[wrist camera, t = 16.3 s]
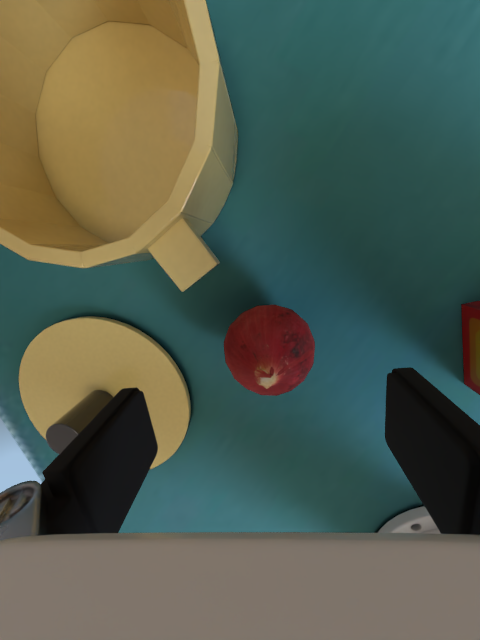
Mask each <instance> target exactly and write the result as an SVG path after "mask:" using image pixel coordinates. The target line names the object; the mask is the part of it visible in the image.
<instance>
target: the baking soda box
mask: <svg viewBox="0 0 480 640" xmlns="http://www.w3.org/2000/svg"><path fill="white" fill-rule="evenodd" d="M461 306H462V335H463V364H464V384H465V385H467V386H468V387H469V388H471V389H472V390H474V391H475V392H476V393H478V394H479V395H480V301H475V302H470V303H465V304H461Z"/></svg>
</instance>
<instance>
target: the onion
mask: <svg viewBox="0 0 480 640" xmlns="http://www.w3.org/2000/svg"><path fill="white" fill-rule="evenodd" d="M314 348H315V342H314V338H313V336H312V334H311V331H310V329H309V326H308V324H307V323H306V322H305V321H304V320H303V319H302V318H301V317H300V316H299V315H297V314H296V313H295V312H294V311H293V310H291V309H288V308H284V307H281V306H277V305H262V306H256V307H254V308H252V309H249V310H247V311H245V312H243V313H241V314H240V315H239V317H238V318H237V319H236V320H235V321H234V322H233V323H232V324H231V325H230V326H229V329H228V332H227V334H226V337H225V340H224V352H225V361H226V364H227V365H228V367H229V369H230V371H231V373H232V375H233V377H234V379H236V380H237V381H238V382H239V383H240V384H241V385H243V386H244V387H245V388H246V389H248V390H251V391H253V392H255V393H258V394H260V395H275V396H277V395H280V394H283V393H286V392H289V391H291V390H292V389H294V388H295V387H296V386H298V385H299V384H300V383H301V382H303V381H304V379H305V378H306V376H307V374H308V372H309V371H310V369H311V367H312V365H313V361H314Z"/></svg>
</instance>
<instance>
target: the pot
mask: <svg viewBox="0 0 480 640" xmlns="http://www.w3.org/2000/svg"><path fill="white" fill-rule="evenodd" d="M237 143H238V130H237V125H236V121H235V117H234V112H233V108H232V104H231V100H230V95H229V91H228V87H227V82H226V78H225V74H224V70H223V66H222V62H221V58H220V54H219V50H218V46H217V42H216V38H215V34H214V30H213V26H212V22H211V18H210V14H209V10H208V6H207V2H206V0H0V244H2V245H3V246H5V247H7V248H9V249H10V250H12V251H14V252H16V253H17V254H19V255H21V256H23V257H24V258H26V259H28V260H31V261H38V262H44V263H51V264H57V265H64V266H71V267H77V268H92V267H100V266H107V265H115V264H122V263H130V262H138V261H145V260H150V259H153V258H155V259H156V261H157V262H158V263H159V264H160V266H161V267H162V268H163V269H164V271H165V272H166V273H167V274H168V275H169V277H170V278H171V279H172V280H173V282H174V283H175V284H176V285H177V287H178V288H179V289H180V290H181V291H182V292H184V291H185V290H187V289H189V288H190V287H191V286H192V285H194V284H195V283H196V282H197V281H199V280H200V279H201V278H202V277H204V276H205V275H206V274H208V273H209V272H210V271H211V270H213V269H214V268H215V267H216V266H218V265H219V264H220V262H219V260H218V259H217V258H216V256H215V255H214V254H213V252H212V251H211V250H210V248H209V247H208V246H207V244H206V243H205V242H204V240H203V239H202V238H201V235H202V234H203V233H204V232H205V231H206V230H207V229H208V228H209V227H210V226H211V225H212V224H213V223H214V221H215V219H216V218H217V216H218V215H219V213H220V211H221V210H222V208H223V206H224V204H225V202H226V200H227V197H228V195H229V193H230V189H231V187H232V184H233V179H234V174H235V168H236V163H237Z"/></svg>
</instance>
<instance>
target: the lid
mask: <svg viewBox="0 0 480 640" xmlns="http://www.w3.org/2000/svg"><path fill="white" fill-rule="evenodd" d="M136 387H137V388H138V389H139V390H140V391H142V392H143V393H144V396H145V400H146V404H147V407H148V411H149V415H150V418H151V422H152V426H153V429H154V433H155V437H156V440H157V444H158V451H157V455H156V457H155V459H154V461H153V463H152V465H151V467H150V469H152V468H154V467H156V466H158V465H160V464H162V463H163V462H165V461H166V460H167V459H169V458H170V457H171V456H172V455H173V454H174V453H175V452H176V450H177V449H178V448H179V446H180V445H181V443H182V441H183V439H184V437H185V435H186V432H187V430H188V427H189V422H190V416H191V403H190V396H189V392H188V388H187V385H186V382H185V380H184V377H183V375H182V373H181V371H180V370H179V368H178V366H177V365H176V363H175V362H174V360H173V359H172V358H171V356H170V355H169V354H168V353H167V352H166V351H165V350H164V349H163V348H162V347H161V346H160V345H159V344H158V343H157V342H156V341H154V340H153V339H152V338H151V337H149V336H148V335H146V334H145V333H143V332H142V331H140V330H138V329H136V328H134V327H132V326H130V325H128V324H125V323H123V322H120V321H117V320H113V319H108V318H104V317H93V316H88V317H77V318H71V319H67V320H64V321H61V322H59V323H56V324H54V325H52V326H50V327H48V328H46V329H45V330H44V331H42V332H41V333H40V334H38V335H37V336H36V337H35V338H34V340H33V341H32V342H31V343H30V345H29V346H28V348H27V349H26V351H25V353H24V356H23V358H22V361H21V365H20V369H19V389H20V394H21V399H22V402H23V405H24V408H25V410H26V412H27V414H28V416H29V418H30V420H31V421H32V423H33V425H34V426H35V428H36V429H37V430H38V432H39V433H40V434H41V435H42V436H43V437H44V439H45V440H46V441H47V443H48V445H49V446H50V447H51V448H52V449H53V450H54V451H55V452H56V453H58V454H60V453H61V452H62V451H63V450H64V449H65V448H66V447H67V446H68V445H69V444H70V443H71V442H72V441H73V440H74V439H75V437H76V436H77V435H78V434H79V433H80V432H81V431H82V430H83V429H84V428H85V427H86V426H87V425H88V424H89V423H90V422H91V421H92V420H93V418H94V417H95V416H96V415H97V414H98V413H99V412H100V411H101V410H102V409H103V408H104V407H105V406H106V405H107V404H108V403H109V402H110V401H111V400H112V398H113V397H114V396H115V395H116V394H117V393H118V392H119V391H120V390H121V389H123V388H136Z"/></svg>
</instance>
